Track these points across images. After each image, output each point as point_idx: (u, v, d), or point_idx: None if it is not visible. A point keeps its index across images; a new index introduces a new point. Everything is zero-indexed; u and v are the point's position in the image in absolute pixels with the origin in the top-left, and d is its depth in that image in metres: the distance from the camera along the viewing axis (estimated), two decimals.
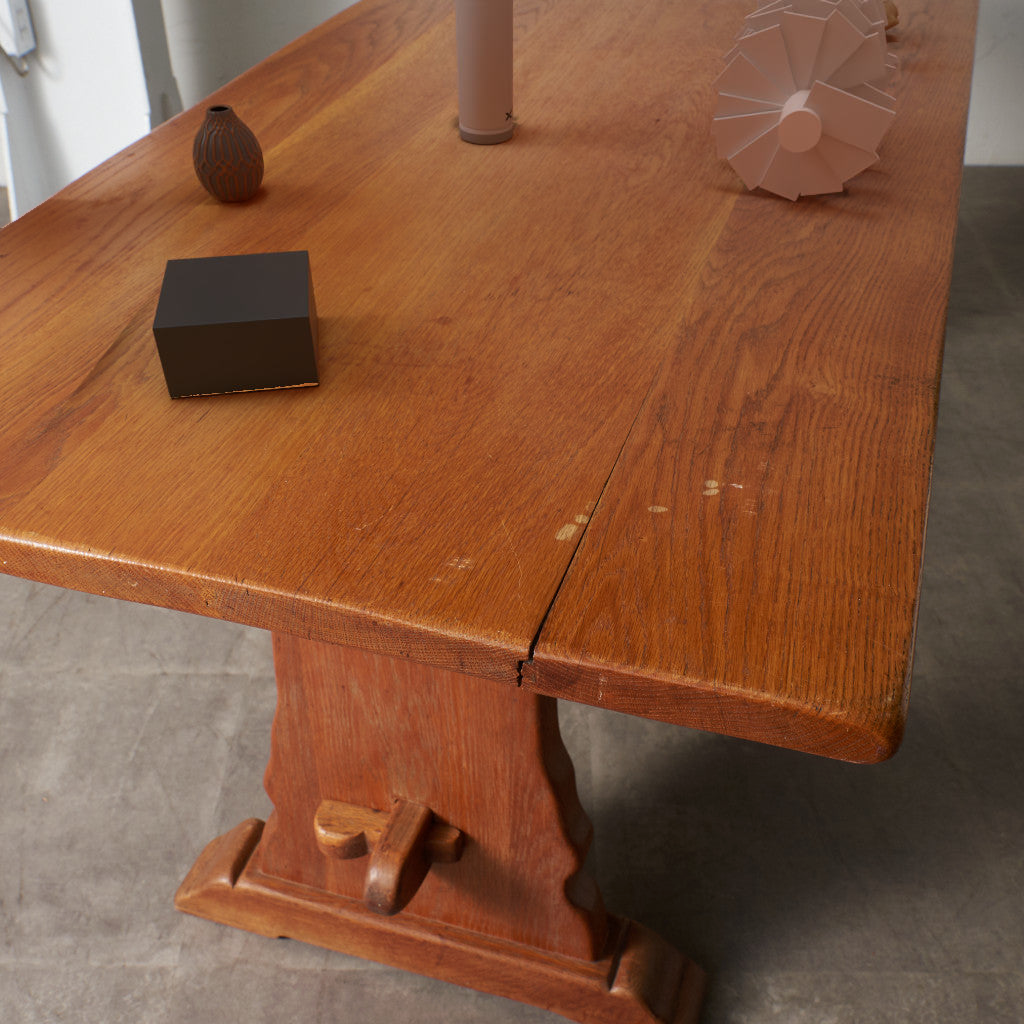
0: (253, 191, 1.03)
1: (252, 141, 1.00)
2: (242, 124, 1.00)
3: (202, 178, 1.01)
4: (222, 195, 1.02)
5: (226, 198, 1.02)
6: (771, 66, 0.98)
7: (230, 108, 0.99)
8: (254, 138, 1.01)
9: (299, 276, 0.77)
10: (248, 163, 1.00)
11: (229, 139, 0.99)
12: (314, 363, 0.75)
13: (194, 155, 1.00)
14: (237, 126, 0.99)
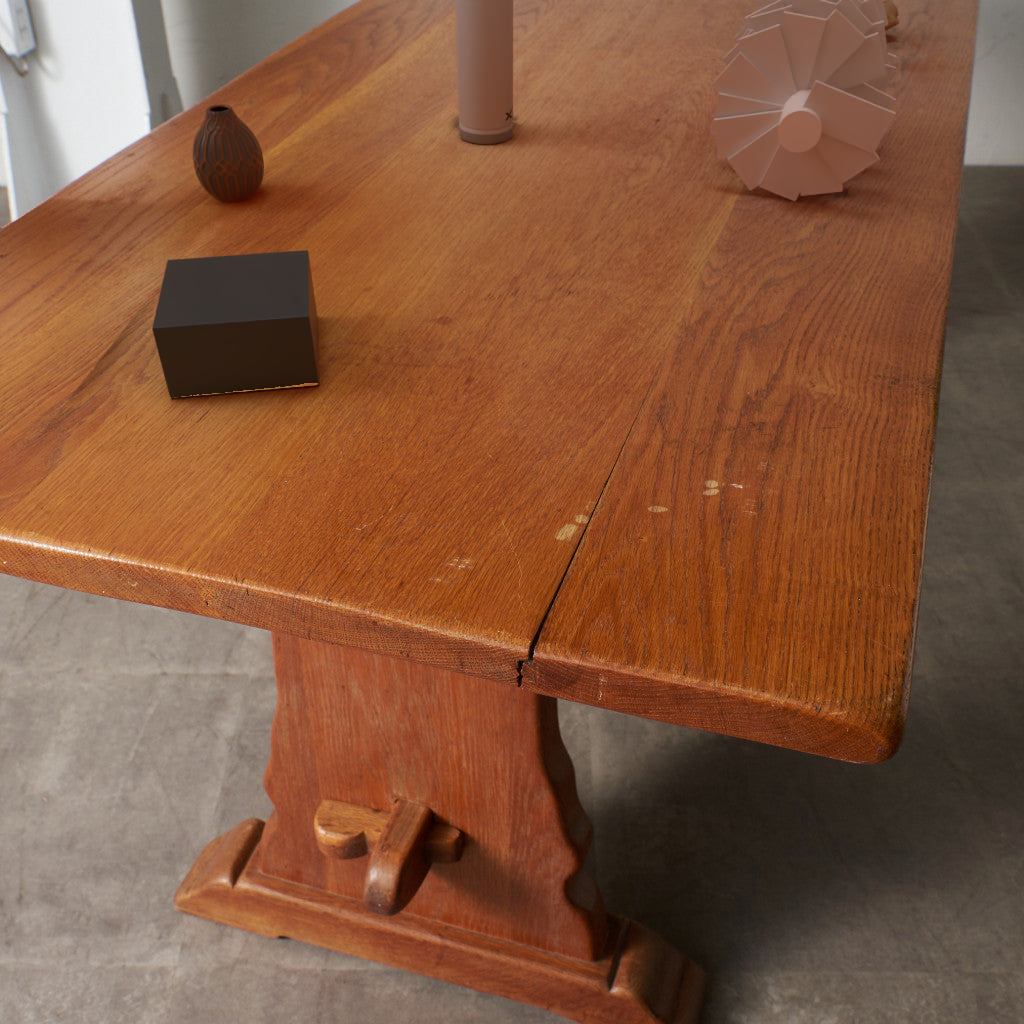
0: (253, 191, 1.03)
1: (252, 141, 1.00)
2: (242, 124, 1.00)
3: (202, 178, 1.01)
4: (222, 195, 1.02)
5: (226, 198, 1.02)
6: (771, 66, 0.98)
7: (230, 108, 0.99)
8: (254, 138, 1.01)
9: (299, 276, 0.77)
10: (248, 163, 1.00)
11: (229, 139, 0.99)
12: (314, 363, 0.75)
13: (194, 155, 1.00)
14: (237, 126, 0.99)
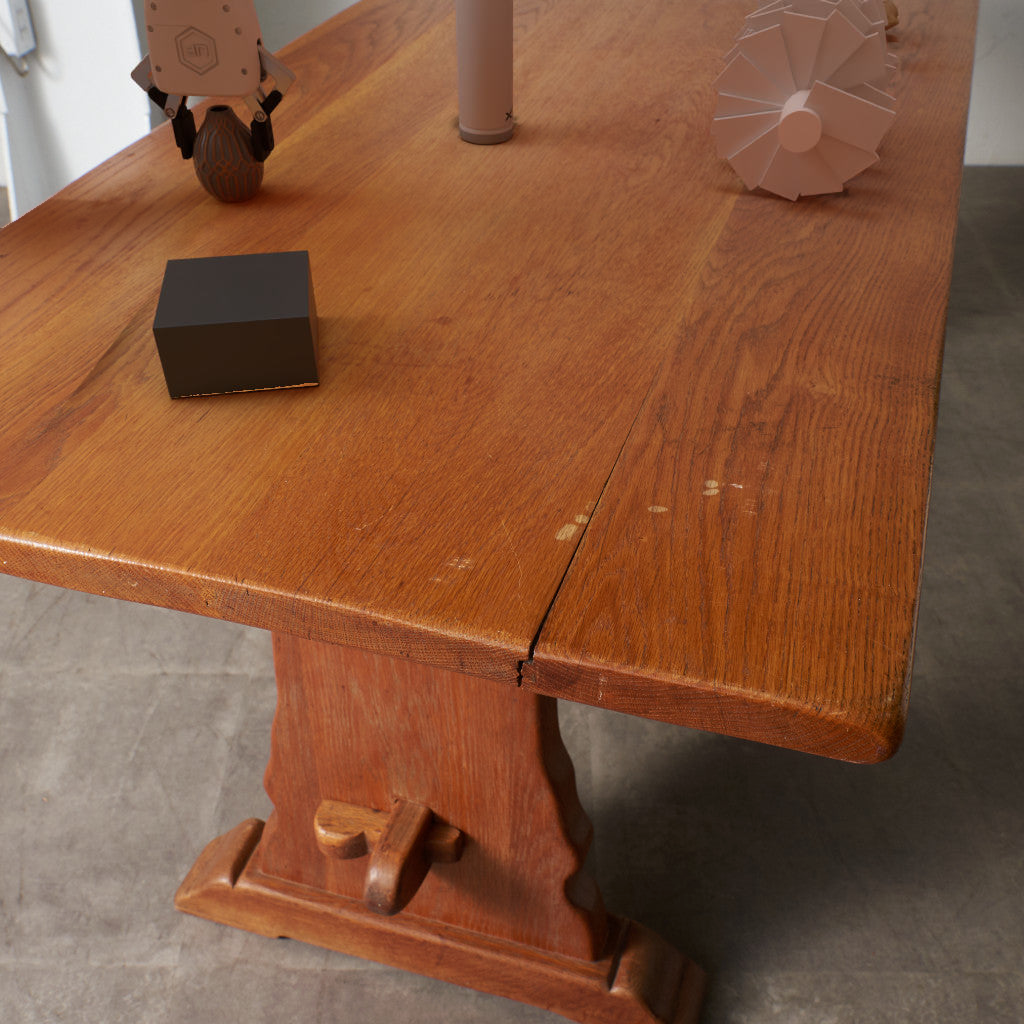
0: (253, 191, 1.03)
1: (252, 141, 1.00)
2: (242, 124, 1.00)
3: (202, 178, 1.01)
4: (222, 195, 1.02)
5: (226, 198, 1.02)
6: (771, 66, 0.98)
7: (230, 108, 0.99)
8: None
9: (299, 276, 0.77)
10: (248, 163, 1.00)
11: (229, 140, 0.99)
12: (314, 363, 0.75)
13: (194, 155, 1.00)
14: (237, 126, 0.99)
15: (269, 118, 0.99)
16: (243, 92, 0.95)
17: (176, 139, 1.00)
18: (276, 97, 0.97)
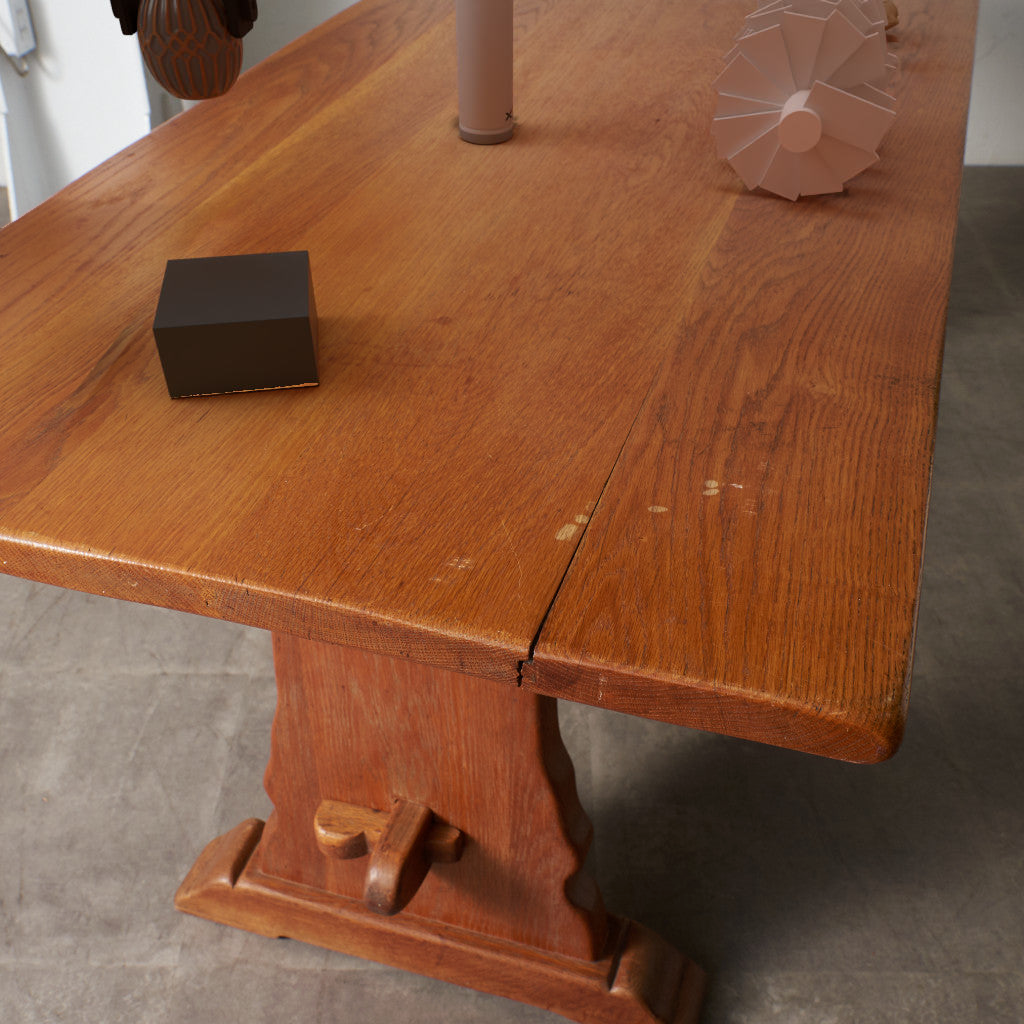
0: (227, 84, 0.70)
1: (225, 6, 0.68)
2: None
3: (151, 62, 0.68)
4: (181, 88, 0.69)
5: (188, 93, 0.70)
6: (771, 66, 0.98)
7: None
8: None
9: (299, 276, 0.77)
10: (219, 39, 0.68)
11: (190, 0, 0.66)
12: (314, 363, 0.75)
13: (139, 27, 0.68)
14: None
15: None
16: None
17: (112, 4, 0.68)
18: None
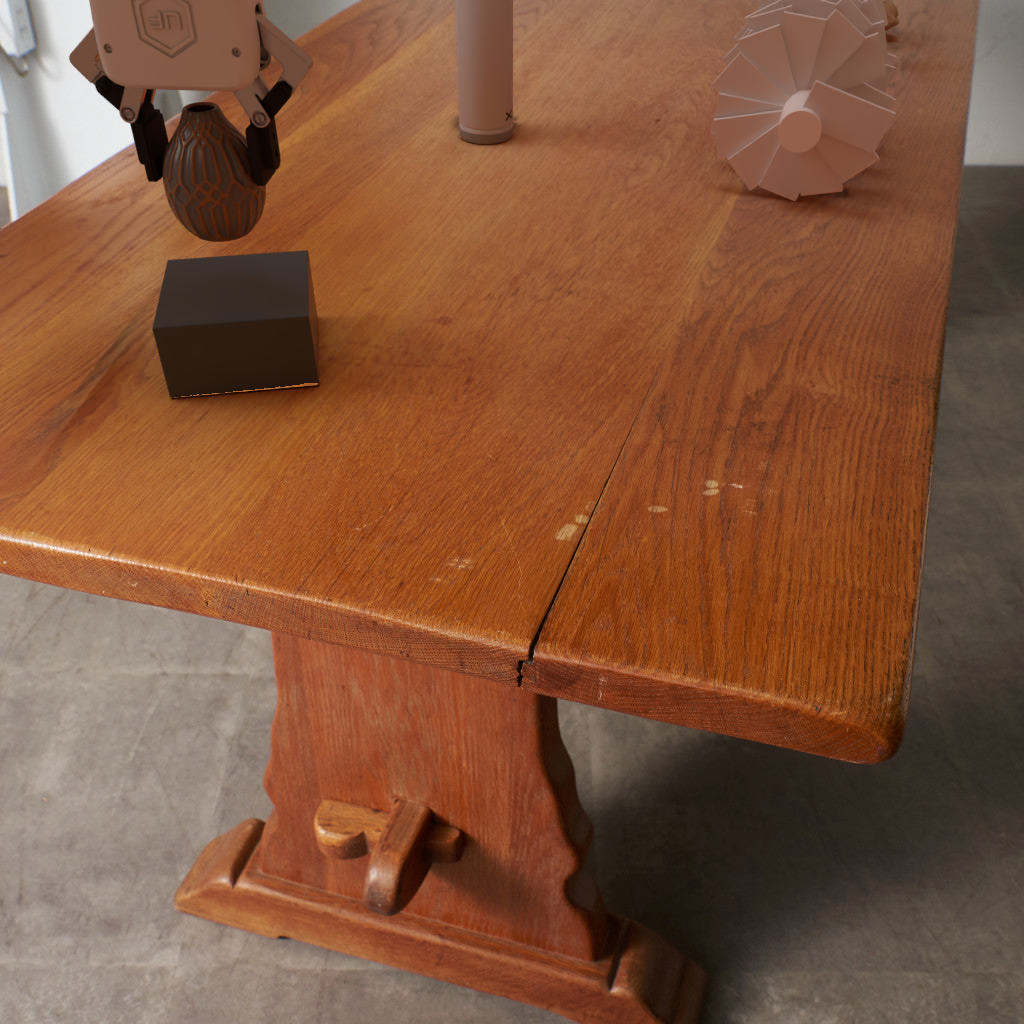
0: (250, 226, 0.72)
1: None
2: (234, 130, 0.69)
3: (176, 209, 0.70)
4: (205, 233, 0.70)
5: (211, 237, 0.71)
6: (771, 66, 0.98)
7: (217, 107, 0.68)
8: None
9: (299, 276, 0.77)
10: (243, 187, 0.69)
11: (215, 153, 0.67)
12: (314, 363, 0.75)
13: (164, 175, 0.69)
14: (227, 133, 0.68)
15: (273, 122, 0.68)
16: (235, 83, 0.64)
17: (138, 152, 0.69)
18: (284, 91, 0.66)
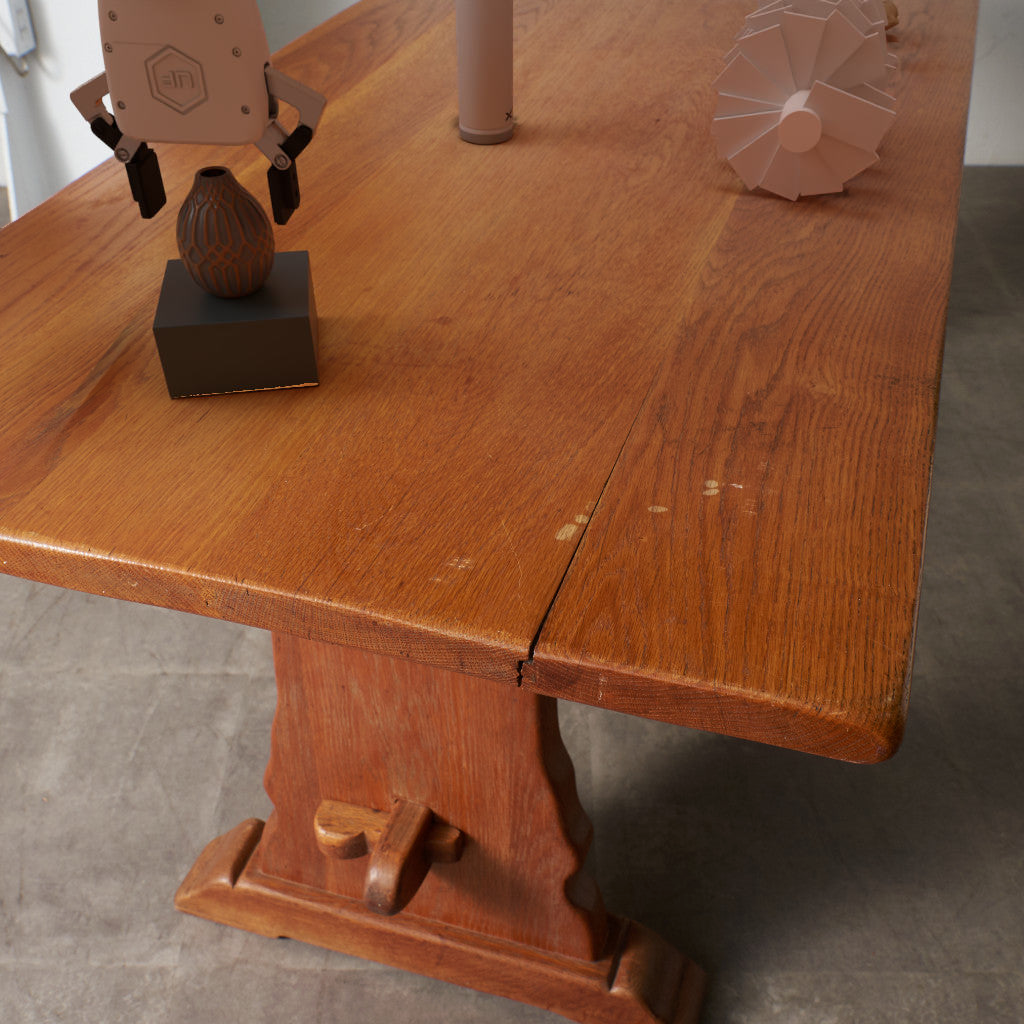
0: (260, 283, 0.74)
1: (259, 216, 0.72)
2: (245, 193, 0.71)
3: (189, 268, 0.72)
4: (217, 290, 0.73)
5: (223, 293, 0.74)
6: (771, 66, 0.98)
7: (228, 172, 0.71)
8: (262, 212, 0.72)
9: (299, 276, 0.77)
10: (253, 248, 0.72)
11: (227, 216, 0.70)
12: (314, 363, 0.75)
13: (178, 236, 0.72)
14: (238, 196, 0.71)
15: (294, 163, 0.70)
16: (244, 139, 0.66)
17: (133, 191, 0.71)
18: (305, 135, 0.67)
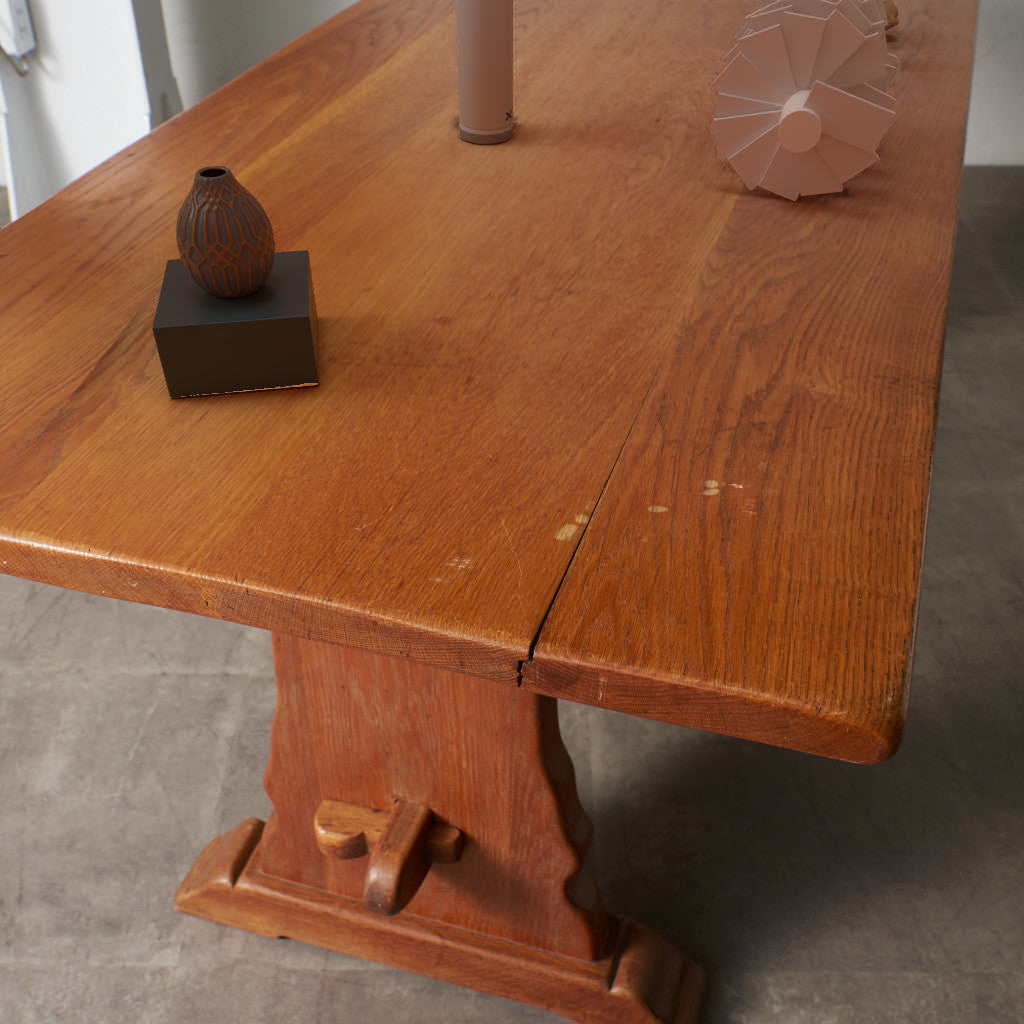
0: (260, 283, 0.74)
1: (259, 216, 0.72)
2: (245, 193, 0.71)
3: (189, 268, 0.72)
4: (217, 290, 0.73)
5: (223, 293, 0.74)
6: (771, 66, 0.98)
7: (228, 172, 0.71)
8: (262, 212, 0.72)
9: (299, 276, 0.77)
10: (253, 248, 0.72)
11: (227, 216, 0.70)
12: (314, 363, 0.75)
13: (178, 236, 0.72)
14: (238, 196, 0.71)
15: None
16: None
17: None
18: None
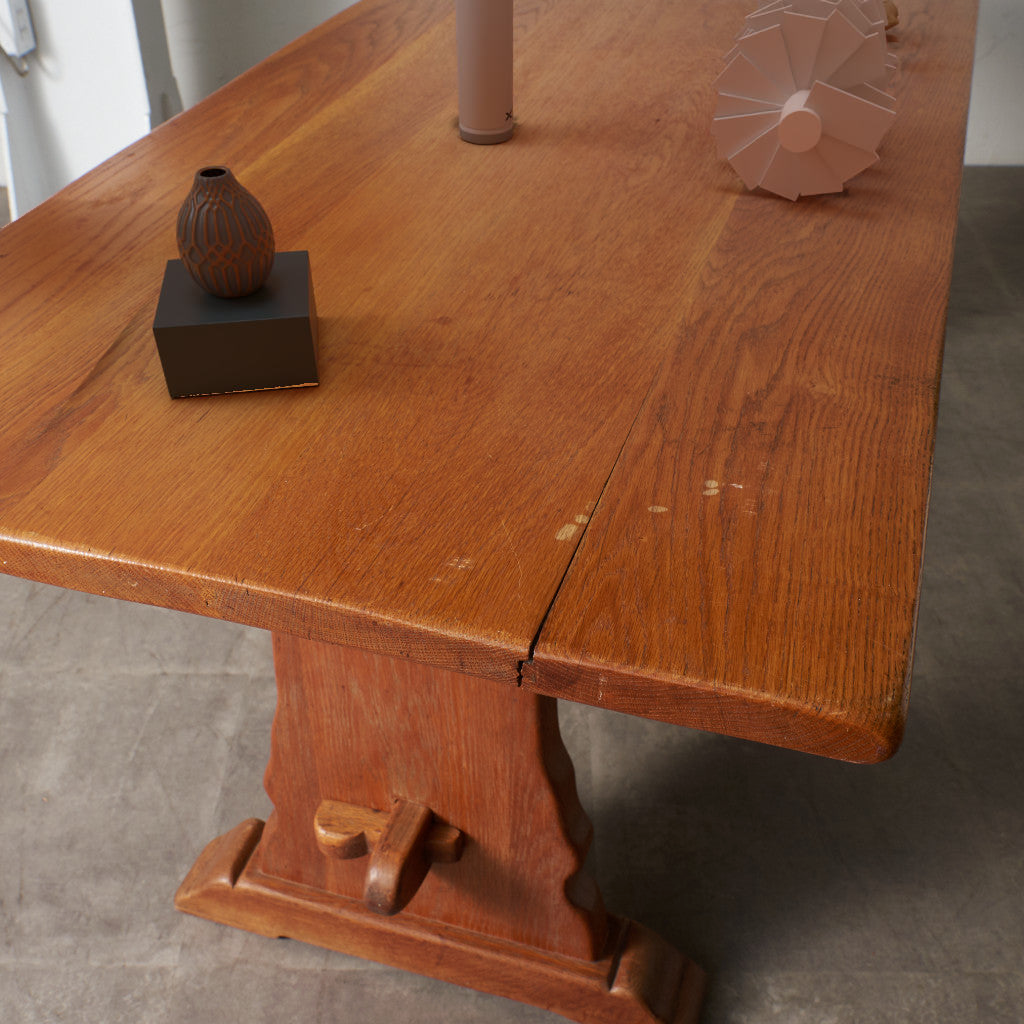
0: (260, 283, 0.74)
1: (259, 216, 0.72)
2: (245, 193, 0.71)
3: (189, 268, 0.72)
4: (217, 290, 0.73)
5: (223, 293, 0.74)
6: (771, 66, 0.98)
7: (228, 172, 0.71)
8: (262, 212, 0.72)
9: (299, 276, 0.77)
10: (253, 248, 0.72)
11: (227, 216, 0.70)
12: (314, 363, 0.75)
13: (178, 236, 0.72)
14: (238, 196, 0.71)
15: None
16: None
17: None
18: None
